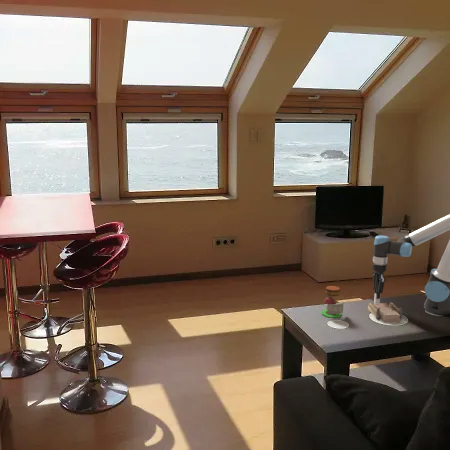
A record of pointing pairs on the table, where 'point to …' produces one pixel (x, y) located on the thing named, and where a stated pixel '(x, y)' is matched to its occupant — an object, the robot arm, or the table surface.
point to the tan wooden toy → (376, 312)
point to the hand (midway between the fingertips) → (376, 303)
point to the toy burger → (332, 303)
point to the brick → (387, 313)
